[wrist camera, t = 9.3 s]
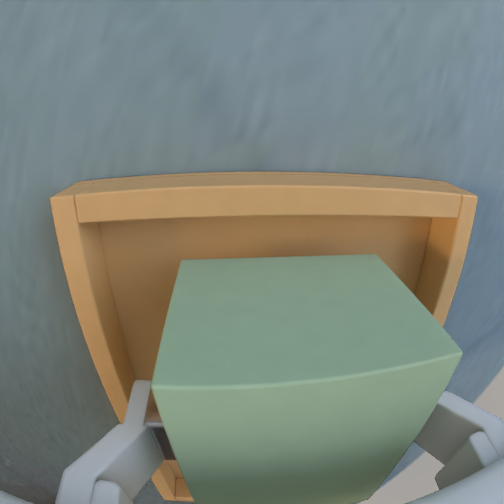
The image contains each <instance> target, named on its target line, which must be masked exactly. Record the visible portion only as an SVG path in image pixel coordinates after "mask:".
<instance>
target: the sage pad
mask: <svg viewBox="0 0 504 504" xmlns="http://www.w3.org/2000/svg"><path fill="white" fill-rule="evenodd" d="M462 355H463V352H462V350H461V349H460V348H459V346H458V345H457V344H456V343H455V342H454V340H453V339H452V338H451V337H450V336H449V334H448V333H447V332H446V331H445V330H444V328H443V327H442V326H441V325H440V324H439V323H438V321H437V320H436V319H435V318H434V317H433V316H432V314H431V313H430V312H429V311H428V310H427V309H426V308H425V306H424V305H423V304H422V303H421V302H420V301H419V300H418V299H417V298H416V296H415V295H414V294H413V293H412V292H411V291H410V290H409V289H408V288H407V287H406V285H405V284H404V283H403V282H402V281H401V280H400V279H399V278H398V277H397V276H396V275H395V274H394V273H393V272H392V270H391V269H390V268H389V267H388V266H387V265H386V264H385V263H384V262H383V261H382V260H381V259H380V258H379V257H378V256H377V255H376V254H357V255H326V256H293V257H259V258H223V259H185V260H181V262H180V266H179V270H178V274H177V277H176V281H175V285H174V289H173V293H172V297H171V301H170V305H169V309H168V313H167V317H166V321H165V325H164V329H163V333H162V338H161V342H160V346H159V351H158V355H157V360H156V365H155V369H154V374H153V379H152V383H151V389H152V392H153V395H154V398H155V401H156V405H157V408H158V411H159V414H160V417H161V420H162V422H163V425H164V428H165V431H166V434H167V437H168V439H169V442H170V445H171V447H172V450H173V453H174V455H175V458H176V460H177V463H178V466H179V468H180V470H181V473H182V475H183V478H184V480H185V482H186V485H187V487H188V489H189V492H190V494H191V496H192V498H193V501H194V503H195V504H352V503H356V502H360V501H364V500H368V499H369V498H370V497H371V496H372V495H373V494H374V492H375V491H376V490H377V489H378V488H379V486H380V485H381V484H382V483H383V482H384V480H385V479H386V478H387V476H388V475H389V474H390V473H391V471H392V470H393V469H394V467H395V466H396V465H397V463H398V462H399V461H400V459H401V458H402V457H403V455H404V454H405V452H406V451H407V450H408V448H409V447H410V445H411V444H412V442H413V441H414V439H415V438H416V436H417V435H418V433H419V432H420V430H421V429H422V427H423V426H424V424H425V422H426V421H427V419H428V418H429V416H430V414H431V413H432V411H433V409H434V408H435V406H436V404H437V403H438V401H439V399H440V397H441V396H442V394H443V392H444V390H445V388H446V386H447V385H448V383H449V381H450V379H451V377H452V375H453V373H454V371H455V369H456V367H457V365H458V363H459V361H460V359H461V357H462Z"/></svg>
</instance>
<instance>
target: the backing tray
mask: <svg viewBox="0 0 504 504" xmlns="http://www.w3.org/2000/svg"><path fill="white" fill-rule="evenodd" d="M50 201H51V207H52V213H53V219H54V224H55V229H56V234H57V239H58V244H59V249H60V253H61V257H62V262H63V266H64V270H65V274H66V278H67V281H68V285H69V289H70V292H71V296H72V299H73V303H74V306H75V309H76V312H77V316H78V319H79V322H80V325H81V328H82V331H83V334H84V337H85V339H86V342H87V345H88V348H89V351H90V353H91V356H92V359H93V361H94V364H95V366H96V369H97V371H98V374H99V376H100V379H101V381H102V383H103V386H104V388H105V390H106V393H107V395H108V397H109V400H110V402H111V404H112V406H113V408H114V410H115V413H116V415H117V417H118V419H119V421H120V423H121V424H123V423H124V419H125V415H126V411H127V407H128V403H129V399H130V395H131V391H132V387H133V384H134V382H135V381H136V380H150V381H152V379H153V374H154V369H155V365H156V360H157V355H158V351H159V346H160V342H161V338H162V333H163V329H164V325H165V321H166V317H167V313H168V309H169V305H170V301H171V297H172V293H173V289H174V285H175V281H176V277H177V274H178V270H179V266H180V262H181V260H185V259H223V258H259V257H293V256H326V255H357V254H376V255H377V256H378V257H379V258H380V259H381V260H382V261H383V262H384V263H385V264H386V265H387V266H388V267H389V268H390V269H391V270H392V272H393V273H394V274H395V275H396V276H397V277H398V278H399V279H400V280H401V281H402V282H403V283H404V284H405V285H406V287H407V288H408V289H409V290H410V291H411V292H412V293H413V294H414V295H415V296H416V298H417V299H418V300H419V301H420V302H421V303H422V304H423V305H424V306H425V308H426V309H427V310H428V311H429V312H430V313H431V314H432V316H433V317H434V318H435V319H436V320H437V321H438V323H439V324H440V325H441V326H442V327H443V325H444V323H445V320H446V317H447V314H448V312H449V309H450V306H451V303H452V300H453V297H454V294H455V291H456V287H457V284H458V281H459V277H460V274H461V270H462V267H463V263H464V260H465V256H466V252H467V248H468V244H469V240H470V235H471V231H472V226H473V222H474V217H475V212H476V206H477V201H478V196H476V195H475V194H472V193H470V192H468V191H466V190H463V189H461V188H459V187H457V186H454V185H451V184H450V183H447V182H445V181H437V180H427V179H417V178H406V177H394V176H381V175H365V174H347V173H323V172H276V171H251V172H203V173H180V174H161V175H146V176H132V177H120V178H109V179H98V180H89V181H80V182H78V183H76V184H74V185H72V186H70V187H68V188H67V189H65V190H63V191H61V192H59V193H58V194H56V195H54V196H52V197H51V198H50ZM151 479H152V481H153V483H154V484H155V486H156V488H157V489H158V491H159V492H160V494H161V495H162V497H163V498H164V500H173V501H176V500H177V501H193V498H192V496H191V494H190V492H189V489H188V487H187V485H186V482H185V480H184V478H183V475H182V473H181V470H180V468H179V466H178V463H177V460H163V463H162V464H161V465H160V467H159V468H158V469H157V470H156V472H155V473H154V474H153V475H152V477H151ZM193 502H194V501H193Z"/></svg>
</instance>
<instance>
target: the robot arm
mask: <svg viewBox="0 0 504 504" xmlns="http://www.w3.org/2000/svg"><path fill="white" fill-rule="evenodd" d="M151 383H152V381H150V380H136V381H135V382H134V384H133V387H132V391H131V395H130V399H129V403H128V407H127V411H126V415H125V419H124V423H123V424H117V425H116V426H115V427H114V428H113V429H112V430H111V431H109V432H108V433H107V434H106V435H105V436H104V437H103V438H101V439H100V440H99V441H98V442H97V443H96V444H94V445H93V446H92V447H91V448H90V449H89V450H87V451H86V452H85V453H84V454H83V455H82V456H80V457H79V458H78V459H77V460H76V461H74V462H73V463H72V464H71V465H70V466H69V467H67V468H66V469H65V470H64V472H63V475H62V479H61V483H60V486H59V490H58V494H57V497H56V501H55V504H134V503H133V502H132V500H133V499H134V498H135V496H136V495H137V494H138V493H139V491H140V490H141V489H142V488H143V487H144V485H145V484H146V483H147V482H148V480H149V479H150V478H151V477H152V475H153V474H154V473H155V472H156V470H157V469H158V468H159V467H160V465H161V464H162V463H163V460H176V458H175V455H174V453H173V450H172V447H171V445H170V442H169V439H168V437H167V434H166V431H165V428H164V425H163V422H162V420H161V417H160V414H159V411H158V408H157V405H156V401H155V398H154V395H153V392H152V389H151ZM414 442H416V443H417V444H418V445H419V446H421V447H422V448H423V449H425V450H426V451H427V452H428V453H430V454H431V455H432V456H434V457H435V458H436V459H437V460H439V461H440V462H442V463H443V464H444V465H445V466H444V467H443V468H442V469H441V470H440V471H439V472H438V473H437V475H436V477H435V480H436V483H437V485H438V487H439V490H438V491H436V492H434V493H431V494H429V495H426V496H424V497H421V498H419V499H416V500H414V501H411V502H408V503H405V504H504V422H503V420H502V419H501V418H499V417H497V416H495V415H493V414H491V413H489V412H487V411H485V410H483V409H481V408H479V407H477V406H476V405H474V404H472V403H470V402H468V401H466V400H464V399H462V398H460V397H458V396H457V395H455V394H453V393H451V392H449V391H446V392H443V394H442V396H441V397H440V399H439V401H438V403H437V404H436V406H435V408H434V409H433V411H432V413H431V414H430V416H429V418H428V419H427V421H426V422H425V424H424V426H423V427H422V429H421V430H420V432H419V433H418V435H417V436H416V438H415V439H414ZM0 504H33V503H30V502H28V501H25V500H23V499H20V498H18V497H15V496H13V495H10V494H8V493H6V492H4V491H1V490H0Z"/></svg>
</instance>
